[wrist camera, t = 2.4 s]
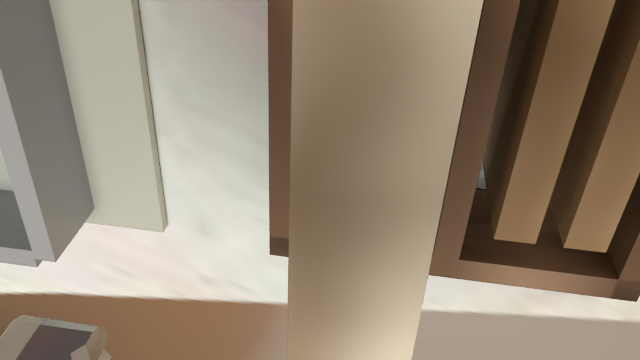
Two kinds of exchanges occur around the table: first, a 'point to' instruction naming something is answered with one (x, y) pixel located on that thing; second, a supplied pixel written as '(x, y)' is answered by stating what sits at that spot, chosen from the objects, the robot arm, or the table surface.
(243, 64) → the table surface
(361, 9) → the pale wooden block
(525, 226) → the offcut
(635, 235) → the walnut rack
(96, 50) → the grey stand
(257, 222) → the table surface
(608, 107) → the offcut
